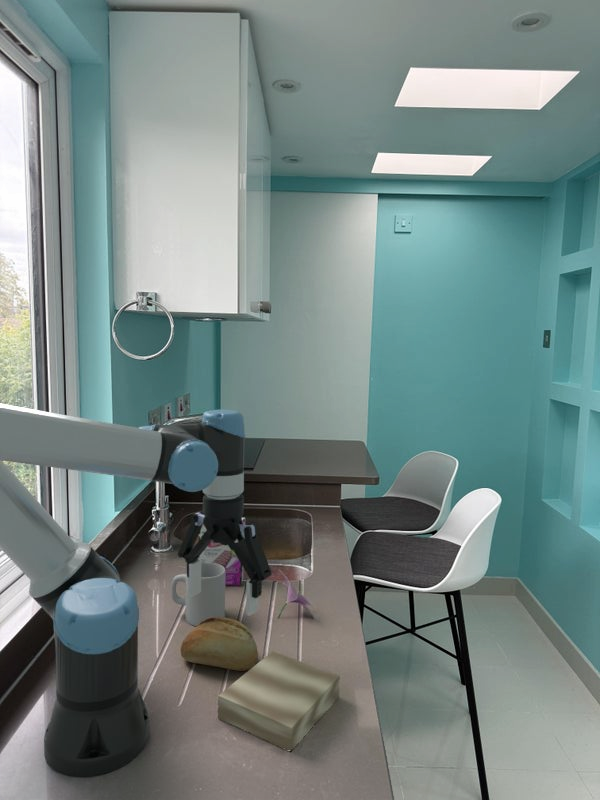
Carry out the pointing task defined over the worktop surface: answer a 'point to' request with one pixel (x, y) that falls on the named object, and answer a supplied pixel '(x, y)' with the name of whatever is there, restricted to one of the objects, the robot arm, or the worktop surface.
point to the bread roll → (221, 644)
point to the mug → (203, 594)
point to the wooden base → (279, 699)
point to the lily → (294, 596)
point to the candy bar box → (223, 560)
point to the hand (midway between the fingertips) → (222, 603)
